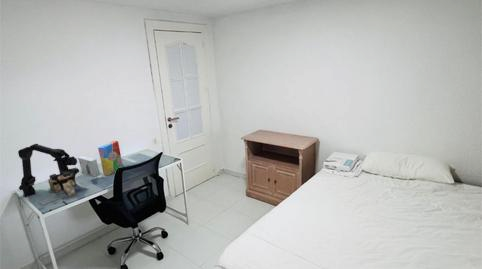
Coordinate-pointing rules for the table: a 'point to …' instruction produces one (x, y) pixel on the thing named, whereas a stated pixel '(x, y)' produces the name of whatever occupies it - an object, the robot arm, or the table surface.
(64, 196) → the pad
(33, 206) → the table surface
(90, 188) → the table surface
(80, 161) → the skincare box
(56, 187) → the brown storage crate
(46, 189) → the table surface
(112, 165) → the game box
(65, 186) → the block
